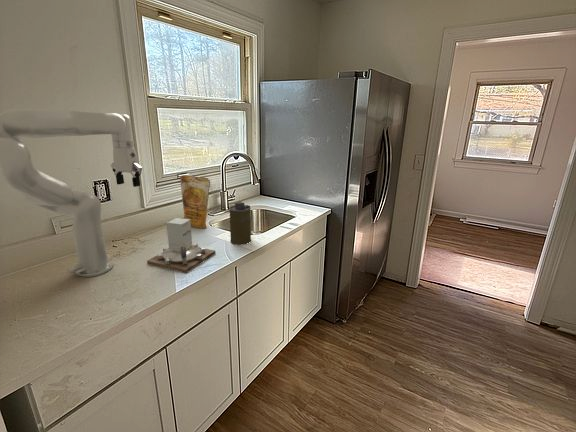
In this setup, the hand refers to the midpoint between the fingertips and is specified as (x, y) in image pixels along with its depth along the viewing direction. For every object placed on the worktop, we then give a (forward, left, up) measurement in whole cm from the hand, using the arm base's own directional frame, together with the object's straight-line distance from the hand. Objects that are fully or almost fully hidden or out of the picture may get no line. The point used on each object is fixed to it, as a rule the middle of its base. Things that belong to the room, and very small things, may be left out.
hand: (128, 185), depth 133 cm
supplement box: (+2, -23, -27) cm, 36 cm away
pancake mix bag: (+38, -4, -30) cm, 49 cm away
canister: (+28, -39, -30) cm, 57 cm away
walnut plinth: (0, -26, -30) cm, 40 cm away
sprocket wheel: (0, -26, -28) cm, 38 cm away
